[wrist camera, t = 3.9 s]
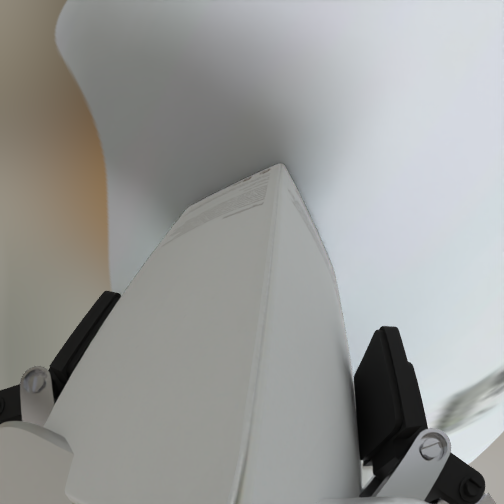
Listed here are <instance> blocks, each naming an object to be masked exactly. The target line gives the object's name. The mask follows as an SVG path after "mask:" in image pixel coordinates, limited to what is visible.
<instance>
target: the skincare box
mask: <svg viewBox="0 0 504 504" xmlns="http://www.w3.org/2000/svg"><path fill="white" fill-rule="evenodd" d="M43 427H44V428H46V429H49V430H51V431H53V432H55V433H57V434H59V435H61V436H63V437H65V439H66V440H67V442H68V444H69V445H70V447H71V449H72V451H73V453H74V457H73V460H72V463H71V467H70V471H69V474H68V478H67V482H66V486H65V494H66V496H67V497H68V498H69V500H70V501H71V502H72V504H317V503H318V501H319V500H320V499H339V498H359V495H360V493H361V490H362V488H363V477H362V460H360V451H359V438H358V426H357V415H356V403H355V391H354V381H353V373H352V366H351V360H350V353H349V347H348V341H347V335H346V330H345V324H344V318H343V313H342V307H341V302H340V296H339V291H338V285H337V280H336V275H335V272H334V269H333V267H332V264H331V262H330V259H329V257H328V255H327V252H326V250H325V248H324V245H323V243H322V241H321V239H320V236H319V234H318V232H317V230H316V227H315V225H314V223H313V221H312V219H311V217H310V214H309V212H308V210H307V208H306V206H305V204H304V202H303V200H302V198H301V195H300V193H299V191H298V189H297V187H296V185H295V183H294V182H293V180H292V178H291V176H290V174H289V172H288V171H287V169H286V167H285V165H284V164H282V163H279V164H276V165H274V166H272V167H269V168H267V169H265V170H262V171H260V172H258V173H256V174H253V175H251V176H249V177H247V178H245V179H243V180H241V181H239V182H237V183H235V184H233V185H231V186H229V187H226V188H224V189H222V190H220V191H218V192H216V193H214V194H212V195H210V196H208V197H206V198H204V199H203V200H201V201H199V202H197V203H195V204H193V205H191V206H189V207H187V209H186V210H185V211H184V212H183V214H182V215H181V216H180V218H179V219H178V220H177V221H176V223H175V224H174V225H173V226H172V228H171V229H170V230H169V232H168V233H167V234H166V236H165V237H164V238H163V239H162V241H161V242H160V243H159V245H158V246H157V247H156V249H155V250H154V251H153V253H152V254H151V255H150V257H149V258H148V259H147V261H146V262H145V263H144V265H143V266H142V267H141V269H140V270H139V272H138V273H137V274H136V276H135V277H134V279H133V280H132V282H131V283H130V284H129V286H128V287H127V289H126V290H125V292H124V293H123V295H122V296H121V298H120V299H119V301H118V302H117V303H116V305H115V306H114V308H113V309H112V311H111V312H110V314H109V315H108V317H107V318H106V320H105V321H104V323H103V324H102V326H101V327H100V329H99V331H98V332H97V334H96V336H95V337H94V338H93V340H92V341H91V343H90V345H89V347H88V348H87V350H86V351H85V353H84V355H83V356H82V358H81V360H80V361H79V363H78V365H77V366H76V368H75V369H74V371H73V373H72V375H71V376H70V378H69V380H68V382H67V384H66V385H65V387H64V389H63V391H62V392H61V394H60V396H59V398H58V399H57V401H56V403H55V405H54V407H53V409H52V411H51V414H50V416H49V417H48V419H47V421H46V423H45V424H44V426H43Z"/></svg>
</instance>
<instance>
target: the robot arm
mask: <svg viewBox="0 0 504 504" xmlns="http://www.w3.org/2000/svg"><path fill="white" fill-rule="evenodd" d="M120 298H121V295H120V294H119V293H115V292H110V291H105V292H104V293H103V294H102V295H101V296H100V297H99V299H98V300H97V301H96V303H95V304H94V305H93V306H92V308H91V309H90V311H89V312H88V313H87V314H86V316H85V317H84V318H83V320H82V321H81V322H80V324H79V325H78V326H77V328H76V329H75V330H74V332H73V333H72V334H71V336H70V337H69V339H68V340H67V342H66V343H65V344H64V346H63V347H62V349H61V350H60V351H59V353H58V354H57V356H56V357H55V359H54V360H53V362H52V363H51V365H50V369H49V370H47V369H46V368H44V367H42V366H34V367H32V368H30V369H28V370H27V371H26V372H25V373H24V374H23V376H22V378H21V381H20V384H19V385H16V386H13V387H10V388H7V389H4V390H1V391H0V504H72V502H71V501H70V500H69V498H68V497H67V496H66V494H65V486H66V482H67V478H68V474H69V471H70V467H71V463H72V460H73V457H74V453H73V451H72V449H71V447H70V445H69V444H68V442H67V440H66V439H65V437H63V436H61V435H59V434H57V433H55V432H53V431H51V430H49V429H46V428H44V427H43V426H44V424H45V423H46V421H47V419H48V417H49V416H50V414H51V411H52V409H53V407H54V405H55V403H56V401H57V399H58V398H59V396H60V394H61V392H62V391H63V389H64V387H65V385H66V384H67V382H68V380H69V378H70V376H71V375H72V373H73V371H74V369H75V368H76V366H77V365H78V363H79V361H80V360H81V358H82V356H83V355H84V353H85V351H86V350H87V348H88V347H89V345H90V343H91V341H92V340H93V338H94V337H95V336H96V334H97V332H98V331H99V329H100V327H101V326H102V324H103V323H104V321H105V320H106V318H107V317H108V315H109V314H110V312H111V311H112V309H113V308H114V306H115V305H116V303H117V302H118V301H119V299H120ZM354 391H355V403H356V415H357V426H358V438H359V451H360V460H362V477H363V488H362V490H361V493H360V495H359V498H339V499H320V500H319V501H318V503H317V504H496V503H495V501H494V500H493V499H492V497H491V496H490V494H489V493H487V494H485V493H484V491H485V481H484V478H483V476H482V475H481V474H480V473H479V472H478V471H476V470H475V469H473V468H472V467H470V466H469V465H467V464H466V463H465V462H463V461H462V460H460V459H459V458H458V457H456V456H455V455H453V454H452V453H451V443H450V440H449V438H448V436H447V435H446V434H445V433H444V432H443V431H442V430H439V429H437V428H429V429H428V427H427V422H426V417H425V412H424V407H423V403H422V399H421V394H420V390H419V386H418V382H417V378H416V375H415V371H414V368H413V365H412V364H411V363H410V362H408V361H407V357H406V354H405V350H404V347H403V343H402V340H401V336H400V333H399V330H398V328H397V327H387V326H382V327H381V328H380V329H379V330H376V331H375V332H374V335H373V337H372V339H371V341H370V344H369V346H368V348H367V350H366V352H365V355H364V357H363V359H362V361H361V363H360V365H359V367H358V369H357V371H356V373H355V376H354Z"/></svg>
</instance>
